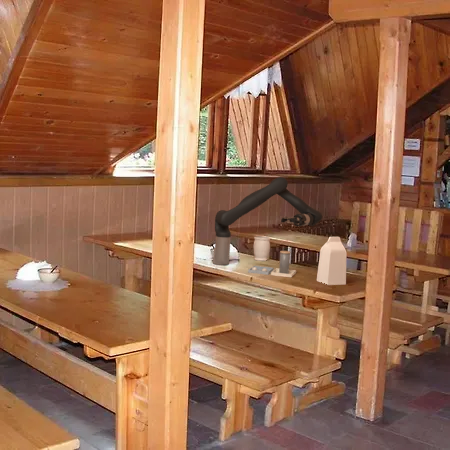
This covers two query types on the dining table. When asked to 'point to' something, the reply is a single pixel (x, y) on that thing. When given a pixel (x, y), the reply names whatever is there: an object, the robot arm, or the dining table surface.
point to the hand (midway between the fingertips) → (287, 221)
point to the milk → (332, 263)
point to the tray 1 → (259, 270)
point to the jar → (261, 248)
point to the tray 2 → (276, 273)
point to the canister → (284, 262)
